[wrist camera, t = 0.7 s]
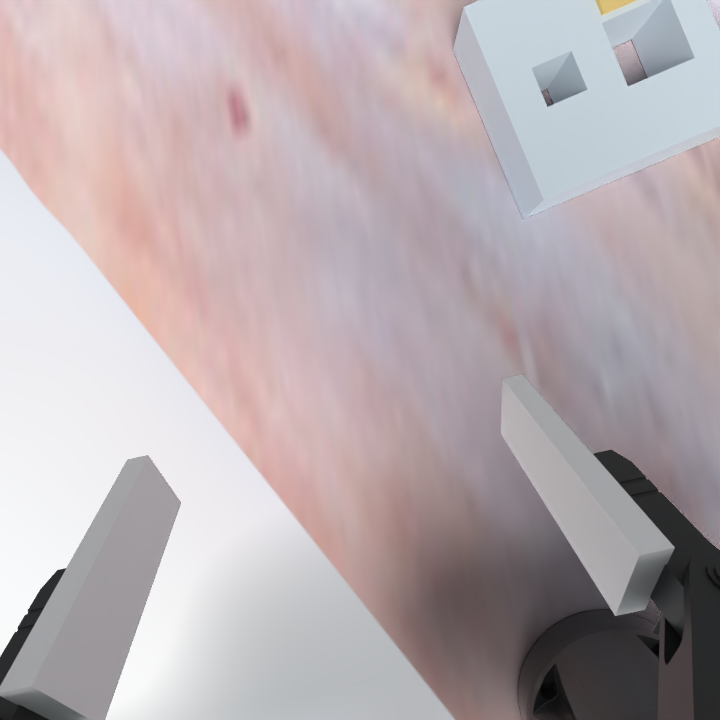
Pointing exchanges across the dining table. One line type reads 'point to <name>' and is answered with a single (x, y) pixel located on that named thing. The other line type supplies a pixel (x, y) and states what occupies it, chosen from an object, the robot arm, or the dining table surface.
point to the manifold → (588, 88)
